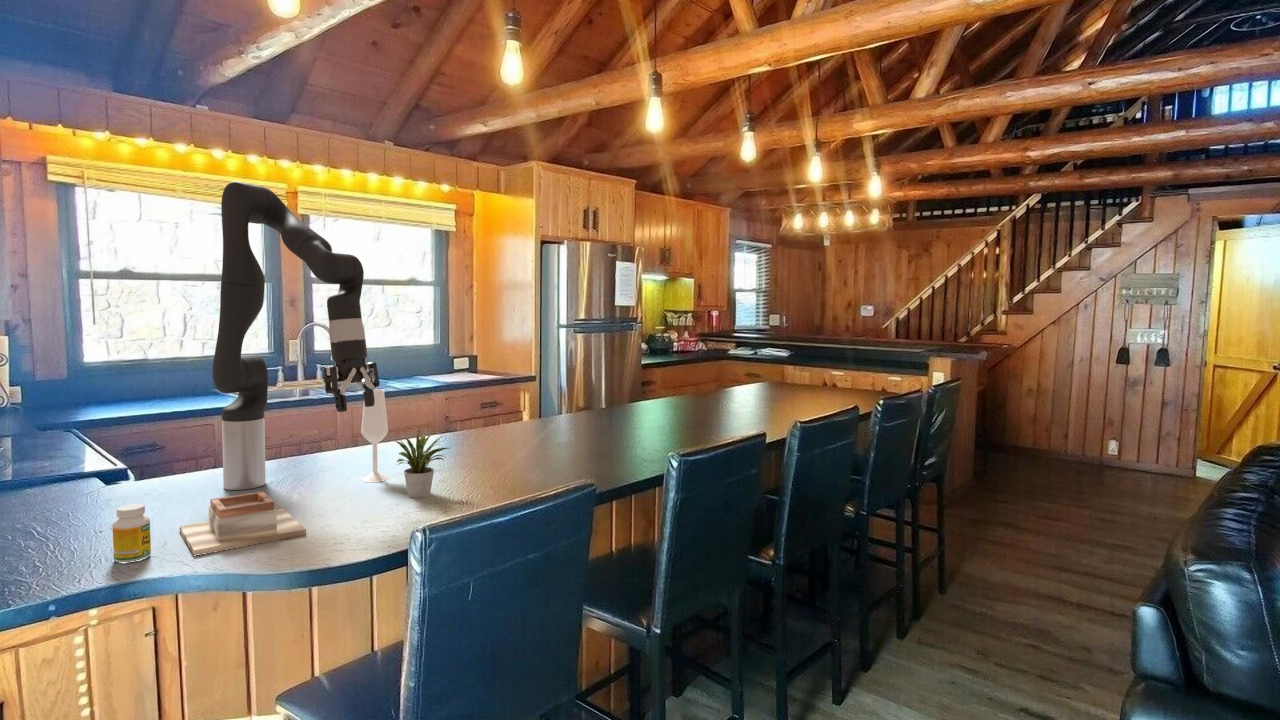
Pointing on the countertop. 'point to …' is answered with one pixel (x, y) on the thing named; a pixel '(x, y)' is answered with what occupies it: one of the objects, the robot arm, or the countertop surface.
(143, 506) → the supplement bottle
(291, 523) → the tower base
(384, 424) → the champagne flute
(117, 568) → the countertop surface
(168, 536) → the countertop surface
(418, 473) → the house plant
